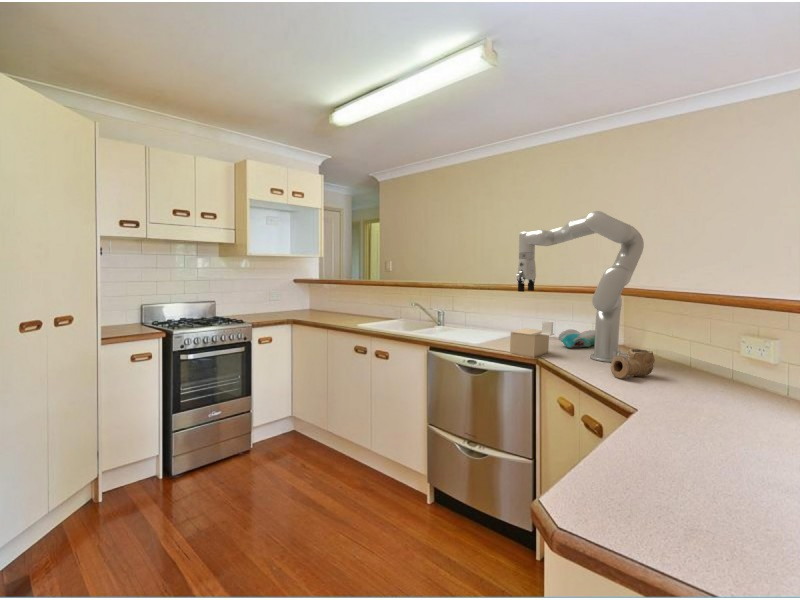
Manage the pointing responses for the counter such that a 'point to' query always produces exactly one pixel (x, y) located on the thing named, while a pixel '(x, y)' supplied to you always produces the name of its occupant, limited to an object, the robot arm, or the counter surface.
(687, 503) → the counter surface
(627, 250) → the robot arm
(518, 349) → the carton
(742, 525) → the counter surface
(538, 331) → the lid flap
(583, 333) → the athletic shoe
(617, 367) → the pipe
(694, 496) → the counter surface
